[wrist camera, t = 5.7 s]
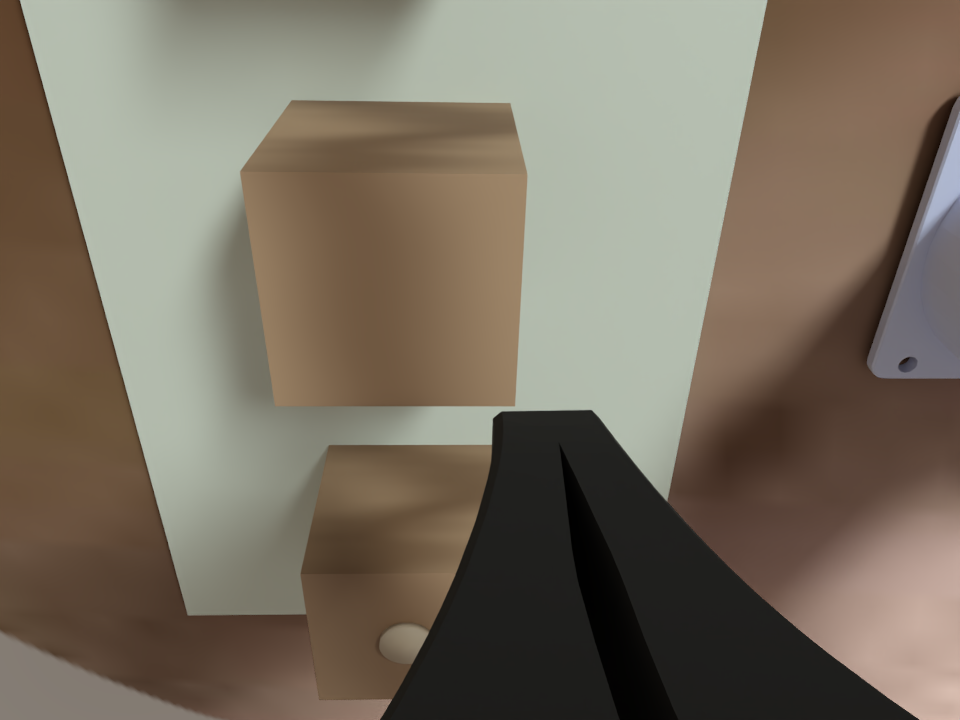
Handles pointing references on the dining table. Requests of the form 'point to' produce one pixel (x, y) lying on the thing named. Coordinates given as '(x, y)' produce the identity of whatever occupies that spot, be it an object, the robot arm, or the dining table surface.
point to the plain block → (389, 252)
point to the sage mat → (396, 78)
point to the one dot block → (385, 558)
